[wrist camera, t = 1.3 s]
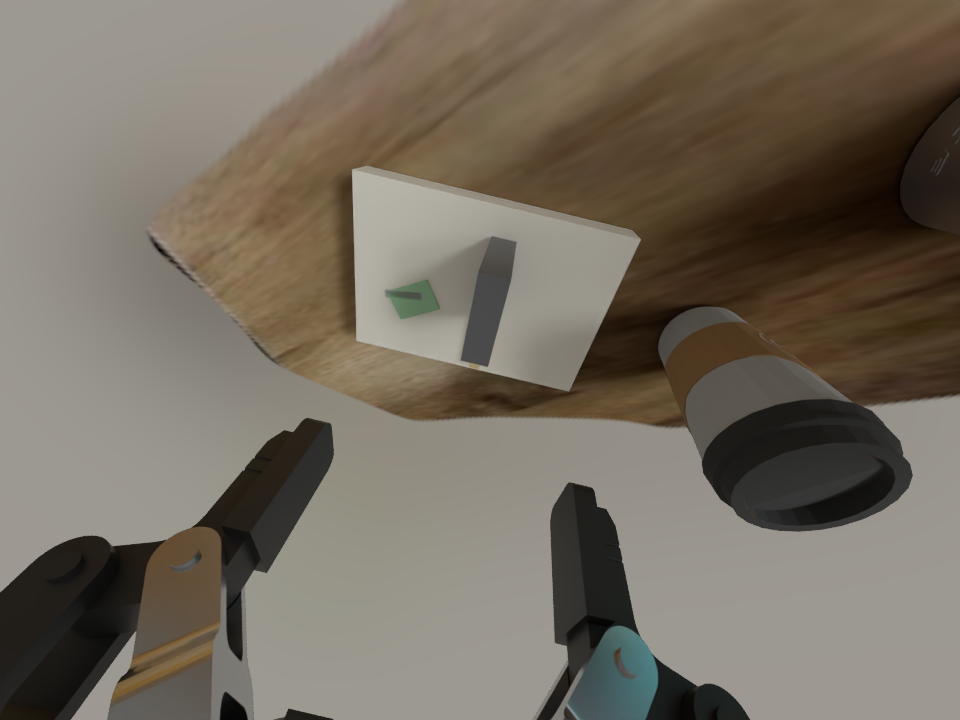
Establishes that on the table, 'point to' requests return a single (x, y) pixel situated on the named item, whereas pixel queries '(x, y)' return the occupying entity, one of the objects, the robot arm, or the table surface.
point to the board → (454, 269)
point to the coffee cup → (776, 428)
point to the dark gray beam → (488, 301)
